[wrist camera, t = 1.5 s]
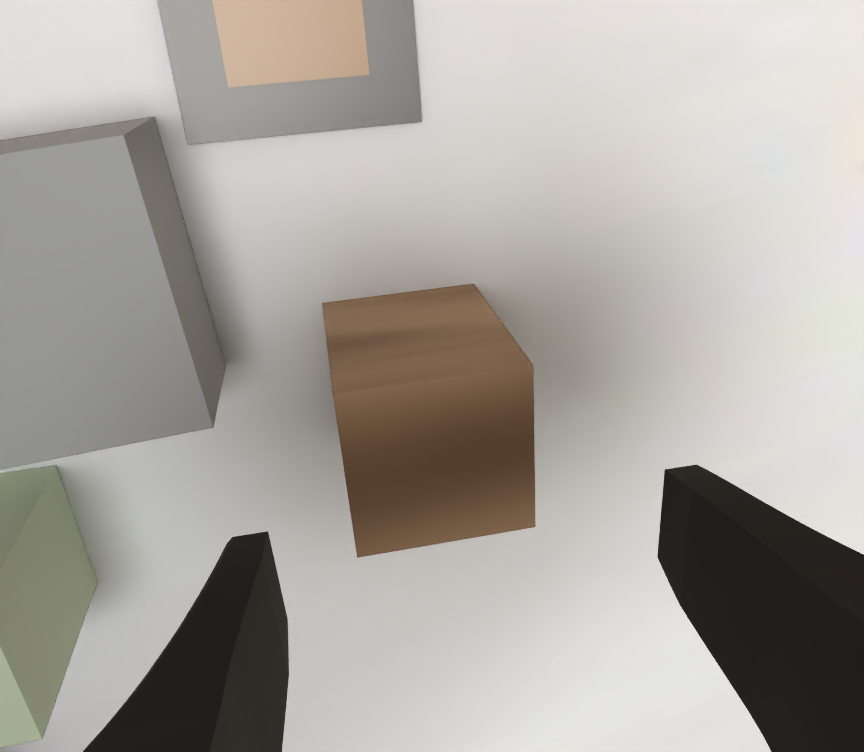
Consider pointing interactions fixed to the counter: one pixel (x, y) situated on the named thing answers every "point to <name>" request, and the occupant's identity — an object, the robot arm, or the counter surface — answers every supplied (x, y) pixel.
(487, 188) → the counter surface
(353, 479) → the walnut block
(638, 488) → the counter surface
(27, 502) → the sage block
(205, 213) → the counter surface
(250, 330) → the counter surface
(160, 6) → the card
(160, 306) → the slate base block
